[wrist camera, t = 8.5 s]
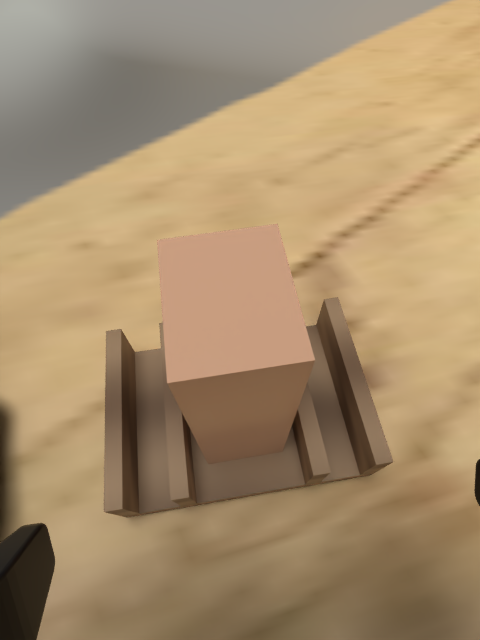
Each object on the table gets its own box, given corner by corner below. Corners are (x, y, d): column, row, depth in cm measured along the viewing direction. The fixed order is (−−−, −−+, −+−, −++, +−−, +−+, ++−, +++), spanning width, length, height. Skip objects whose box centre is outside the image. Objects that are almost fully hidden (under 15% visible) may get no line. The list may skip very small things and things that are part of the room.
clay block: (282, 451, 21) (315, 360, 11) (208, 464, 21) (167, 383, 10) (264, 366, 23) (277, 224, 13) (198, 376, 23) (157, 239, 13)
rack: (370, 474, 21) (393, 462, 18) (127, 517, 20) (103, 511, 17) (326, 329, 26) (337, 297, 22) (125, 359, 25) (106, 331, 21)
